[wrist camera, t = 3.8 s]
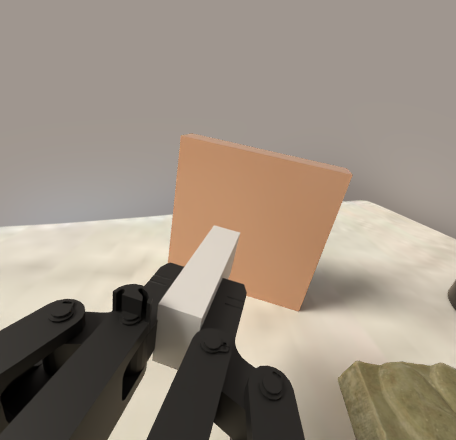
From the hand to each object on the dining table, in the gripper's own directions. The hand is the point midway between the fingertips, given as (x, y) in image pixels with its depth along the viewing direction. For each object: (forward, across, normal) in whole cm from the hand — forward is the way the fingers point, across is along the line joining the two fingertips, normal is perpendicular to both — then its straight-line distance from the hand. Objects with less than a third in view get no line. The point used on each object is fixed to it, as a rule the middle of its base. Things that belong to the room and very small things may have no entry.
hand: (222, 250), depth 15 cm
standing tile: (+10, 0, -10) cm, 14 cm away
